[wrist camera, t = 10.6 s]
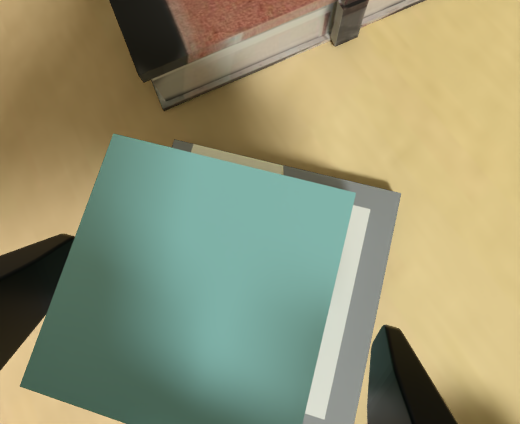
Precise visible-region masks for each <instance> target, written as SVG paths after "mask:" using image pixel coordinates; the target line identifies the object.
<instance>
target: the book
mask: <svg viewBox="0 0 520 424" xmlns="http://www.w3.org/2000/svg"><path fill="white" fill-rule="evenodd" d="M423 1H425V0H110V3H111V6H112V8H113V11H114V13H115V16H116V19H117V21H118V24H119V26H120V29H121V31H122V34H123V37H124V39H125V42H126V44H127V47H128V49H129V52H130V55H131V57H132V60H133V62H134V65H135V67H136V70H137V73H138V75H139V77H140V78H141V80H142V81H143V82H146V81H149V80H151V81H152V83H153V86H154V88H155V91H156V93H157V96H158V98H159V101H160V103H161V106H162V109H163V110H164V111H165V110H167V109H170V108H172V107H174V106H177V105H179V104H182V103H184V102H186V101H189V100H191V99H193V98H196V97H198V96H200V95H203V94H205V93H208V92H210V91H212V90H215V89H217V88H219V87H222V86H224V85H226V84H229V83H231V82H234V81H236V80H238V79H241V78H243V77H245V76H248V75H250V74H252V73H255V72H257V71H260V70H262V69H264V68H267V67H269V66H271V65H274V64H276V63H278V62H281V61H283V60H286V59H288V58H290V57H293V56H295V55H297V54H300V53H302V52H305V51H307V50H309V49H312V48H314V47H316V46H319V45H321V44H323V43H326V42H328V41H331V40H332V42H333V44H334V46H338V45H340V44H342V43H345V42H347V41H349V40H352V39H354V38H357V37H358V33H359V30H360V28H361V27H364V26H366V25H368V24H371V23H373V22H375V21H378V20H380V19H383V18H385V17H387V16H390V15H392V14H394V13H397V12H399V11H401V10H404V9H406V8H409V7H411V6H413V5H416V4H418V3H420V2H423Z"/></svg>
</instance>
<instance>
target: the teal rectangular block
mask: <svg viewBox="0 0 520 424" xmlns="http://www.w3.org/2000/svg"><path fill="white" fill-rule="evenodd" d="M355 195H356V193H355V192H351V191H346V190H342V189H338V188H334V187H330V186H326V185H322V184H318V183H314V182H310V181H306V180H301V179H297V178H293V177H289V176H285V175H283V165H279V164H275V163H271V162H267V161H262V160H258V159H254V158H250V157H246V156H242V155H237V154H233V153H229V152H225V151H221V150H217V149H213V148H208V147H204V146H200V145H196V144H193V147H192V150H191V152H187V151H183V150H179V149H175V148H171V147H166V146H162V145H158V144H154V143H150V142H146V141H142V140H138V139H134V138H130V137H126V136H122V135H117V134H113V136H112V139H111V141H110V144H109V147H108V149H107V152H106V155H105V157H104V160H103V163H102V166H101V168H100V171H99V174H98V176H97V179H96V182H95V184H94V187H93V190H92V193H91V195H90V198H89V201H88V203H87V206H86V209H85V211H84V214H83V217H82V220H81V222H80V225H79V228H78V230H77V233H76V236H75V238H74V241H73V244H72V247H71V249H70V252H69V255H68V257H67V260H66V263H65V265H64V268H63V271H62V274H61V276H60V279H59V282H58V284H57V287H56V290H55V292H54V295H53V298H52V301H51V303H50V306H49V309H48V311H47V314H46V317H45V319H44V322H43V325H42V328H41V330H40V333H39V336H38V338H37V341H36V344H35V346H34V349H33V352H32V355H31V357H30V360H29V363H28V365H27V368H26V371H25V373H24V376H23V379H22V382H21V384H20V387H23V388H26V389H29V390H31V391H34V392H37V393H40V394H43V395H46V396H49V397H52V398H54V399H57V400H60V401H63V402H66V403H69V404H72V405H74V406H77V407H80V408H83V409H86V410H89V411H92V412H95V413H97V414H100V415H103V416H106V417H109V418H112V419H115V420H117V421H120V422H123V423H126V424H303V419H304V415H305V411H306V406H307V402H308V398H309V393H310V389H311V385H312V380H313V376H314V372H315V368H316V363H317V359H318V355H319V350H320V346H321V342H322V337H323V333H324V329H325V324H326V320H327V316H328V311H329V307H330V303H331V299H332V294H333V290H334V286H335V281H336V277H337V273H338V268H339V264H340V260H341V255H342V251H343V247H344V242H345V238H346V234H347V230H348V225H349V221H350V217H351V212H352V208H353V204H354V199H355Z"/></svg>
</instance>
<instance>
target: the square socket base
mask: <svg viewBox="0 0 520 424" xmlns="http://www.w3.org/2000/svg"><path fill="white" fill-rule="evenodd" d="M192 147H193V144H192V143H187V142H183V141H179V140H175V139H174V142H173V145H172V148H175V149H179V150H183V151H187V152H191V150H192ZM208 148H209V147H208ZM229 153H230V152H229ZM233 154H234V153H233ZM237 155H238V154H237ZM250 158H251V157H250ZM254 159H255V158H254ZM258 160H259V159H258ZM262 161H263V160H262ZM271 163H272V162H271ZM275 164H276V163H275ZM279 165H280V164H279ZM283 175H285V176H289V177H293V178H297V179H301V180H306V181H310V182H314V183H318V184H322V185H326V186H330V187H334V188H338V189H342V190H346V191H351V192H355V193H356V195H355V199H354V204H353V208H352V212H351V217H350V221H349V225H348V230H347V234H346V238H345V242H344V247H343V251H342V255H341V260H340V264H339V268H338V273H337V277H336V281H335V286H334V290H333V294H332V299H331V303H330V307H329V311H328V316H327V320H326V324H325V329H324V333H323V337H322V342H321V346H320V350H319V355H318V359H317V363H316V368H315V372H314V376H313V380H312V385H311V389H310V393H309V398H308V402H307V406H306V411H305V415H304V419H303V424H354V421H355V416H356V411H357V406H358V402H359V397H360V392H361V387H362V382H363V377H364V372H365V367H366V362H367V358H368V353H369V348H370V343H371V338H372V333H373V328H374V323H375V319H376V314H377V309H378V304H379V299H380V294H381V289H382V284H383V279H384V275H385V270H386V265H387V260H388V255H389V250H390V245H391V240H392V235H393V231H394V226H395V221H396V216H397V211H398V206H399V201H400V196H401V193H398V192H393V191H389V190H385V189H381V188H377V187H372V186H368V185H364V184H360V183H356V182H351V181H347V180H343V179H339V178H335V177H330V176H326V175H322V174H318V173H314V172H309V171H305V170H301V169H297V168H293V167H288V166H284V165H283Z"/></svg>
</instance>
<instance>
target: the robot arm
mask: <svg viewBox="0 0 520 424" xmlns="http://www.w3.org/2000/svg"><path fill="white" fill-rule="evenodd" d="M74 238H75V237H74V236H71V235H67V234H59V235H56V236H54V237H51V238H48V239H45V240H43V241H40V242H37V243H34V244H32V245H29V246H26V247H23V248H20V249H18V250H15V251H12V252H9V253H7V254H4V255H1V256H0V370H1V369H2V368H3V367H4V365H5V364H6V363H7V362H8V361H9V359H10V358H11V357H12V356H13V354H14V353H15V352H16V351H17V350H18V348H19V347H20V346H21V345H22V343H23V342H24V341H25V340H26V338H27V337H28V336H29V335H30V334H31V332H32V331H33V330H34V329H35V327H36V326H37V325H38V324H39V322H40V321H41V320H42V319H43V318H44V316H45V315H46V314H47V311H48V309H49V306H50V303H51V301H52V298H53V295H54V292H55V290H56V287H57V284H58V282H59V279H60V276H61V274H62V271H63V268H64V265H65V263H66V260H67V257H68V255H69V252H70V249H71V247H72V244H73V241H74ZM367 421H368V424H458V423H457V421H456V420H455V418H454V417H453V415H452V413H451V412H450V410H449V408H448V407H447V405H446V403H445V402H444V400H443V398H442V397H441V395H440V394H439V392H438V390H437V389H436V387H435V385H434V384H433V382H432V380H431V379H430V377H429V375H428V374H427V372H426V371H425V369H424V367H423V366H422V364H421V362H420V361H419V359H418V357H417V356H416V354H415V352H414V351H413V349H412V348H411V346H410V344H409V343H408V341H407V339H406V338H405V336H404V334H403V333H402V331H401V330H400V329H399V328H396V327H393V326H389V325H383V326H382V327H381V329H380V331H379V333H378V334H377V336H376V338H375V340H374V341H373V344H372V348H371V359H370V372H369V386H368V401H367Z"/></svg>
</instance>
